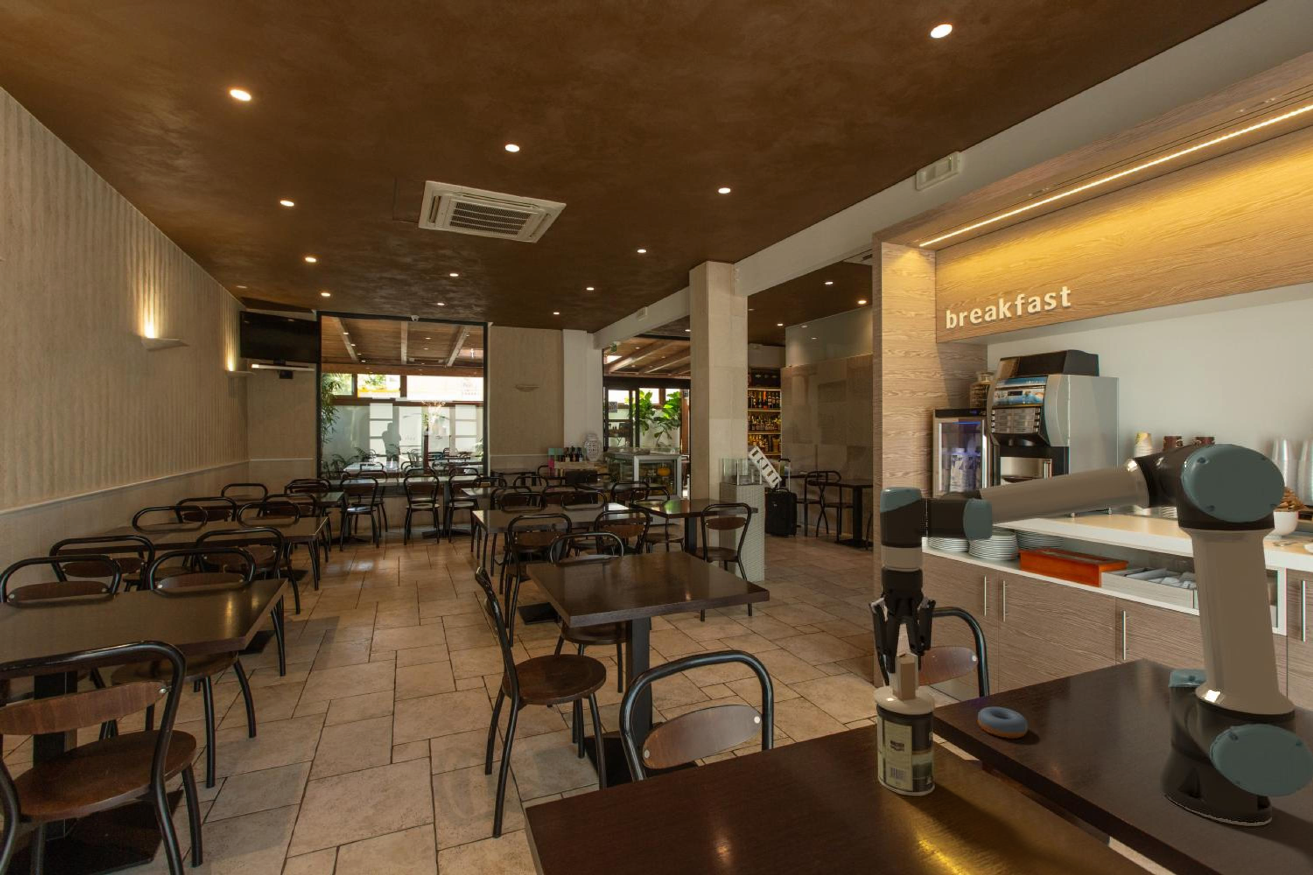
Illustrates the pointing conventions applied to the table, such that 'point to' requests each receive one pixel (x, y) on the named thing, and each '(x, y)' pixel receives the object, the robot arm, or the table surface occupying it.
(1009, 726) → the doughnut
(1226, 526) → the robot arm
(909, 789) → the coffee can
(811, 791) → the table surface
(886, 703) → the lid
